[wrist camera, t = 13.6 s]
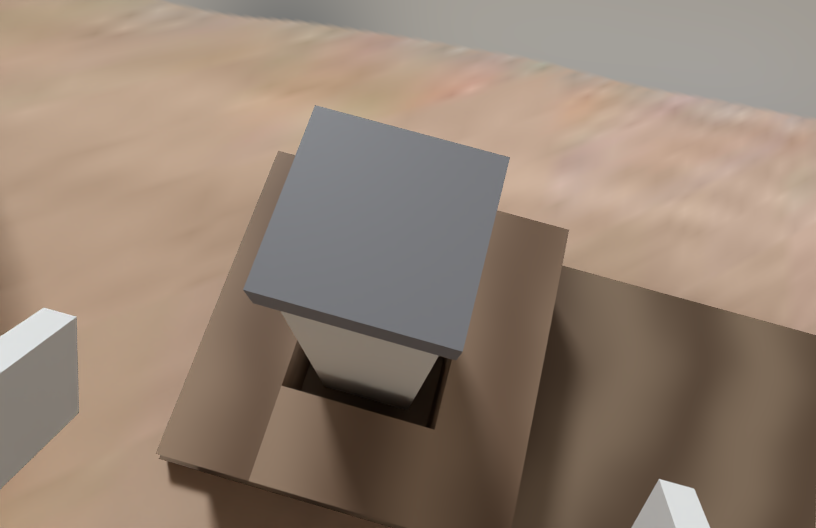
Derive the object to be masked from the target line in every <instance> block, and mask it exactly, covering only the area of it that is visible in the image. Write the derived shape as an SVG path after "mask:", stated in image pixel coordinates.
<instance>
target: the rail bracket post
mask: <svg viewBox="0 0 816 528" xmlns="http://www.w3.org/2000/svg"><path fill="white" fill-rule="evenodd" d="M509 159H510V157H506V156H502V155H499V154H495V153H491V152H488V151H484V150H480V149H476V148H473V147H469V146H465V145H461V144H458V143H454V142H450V141H447V140H443V139H439V138H435V137H432V136H428V135H424V134H420V133H417V132H413V131H409V130H405V129H402V128H398V127H394V126H391V125H387V124H383V123H379V122H376V121H372V120H368V119H364V118H361V117H357V116H353V115H350V114H346V113H342V112H338V111H335V110H331V109H327V108H323V107H320V106H316V105H315V107H314V110H313V112H312V115H311V117H310V120H309V122H308V125H307V127H306V130H305V133H304V135H303V138H302V140H301V143H300V145H299V148H298V150H297V153H296V156H295V158H294V161H293V163H292V166H291V168H290V171H289V173H288V176H287V179H286V181H285V184H284V186H283V189H282V191H281V194H280V196H279V199H278V202H277V204H276V207H275V209H274V212H273V214H272V217H271V219H270V222H269V225H268V227H267V230H266V232H265V235H264V237H263V240H262V242H261V245H260V248H259V250H258V253H257V255H256V258H255V260H254V263H253V265H252V268H251V271H250V273H249V276H248V278H247V281H246V283H245V286H244V288H243V290H244V292H245V293H246V295H247V296H248V297H249V299H250V300H251V301H252V303H254V304H258V305H261V306H265V307H268V308H272V309H275V310H279V311H281V313H282V315H283V316H284V318H285V320H286V322H287V323H288V325H289V327H290V328H291V330H292V332H293V333H294V335H295V337H296V339H297V340H298V342H299V344H300V345H301V347H302V349H303V351H304V352H305V354H306V356H307V357H308V359H309V361H310V363H311V364H312V366H313V368H314V369H315V371H316V373H317V375H318V376H319V378H320V380H321V381H322V383H323V385H324V387H328V388H331V389H335V390H338V391H342V392H345V393H349V394H352V395H356V396H359V397H363V398H366V399H370V400H373V401H377V402H380V403H384V404H387V405H391V406H394V407H398V408H401V409H405V410H408V409H409V407H410V405H411V403H412V402H413V400H414V398H415V396H416V395H417V393H418V391H419V389H420V388H421V386H422V384H423V383H424V381H425V379H426V377H427V376H428V374H429V372H430V370H431V369H432V367H433V365H434V363H435V362H436V360H437V358H438V356H442V357H445V358H449V359H452V360H457V359H458V357H459V356H460V355H461V353H462V352H463V348H464V344H465V340H466V336H467V332H468V328H469V324H470V320H471V315H472V311H473V307H474V303H475V299H476V295H477V291H478V287H479V282H480V278H481V274H482V270H483V266H484V262H485V258H486V254H487V249H488V245H489V241H490V237H491V233H492V229H493V225H494V221H495V216H496V212H497V208H498V204H499V200H500V196H501V192H502V188H503V183H504V179H505V175H506V171H507V167H508V163H509Z"/></svg>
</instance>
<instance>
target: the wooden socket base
mask: <svg viewBox="0 0 816 528" xmlns="http://www.w3.org/2000/svg"><path fill="white" fill-rule="evenodd" d="M294 158H295V155H292V154H288V153H284V152H281V151H278V153H277V156H276V158H275V160H274V163H273V165H272V168H271V170H270V173H269V175H268V178H267V180H266V183H265V185H264V188H263V190H262V193H261V195H260V198H259V200H258V202H257V205H256V207H255V210H254V212H253V215H252V217H251V220H250V222H249V225H248V227H247V230H246V232H245V235H244V237H243V240H242V242H241V244H240V247H239V249H238V252H237V254H236V257H235V259H234V262H233V264H232V267H231V269H230V272H229V274H228V277H227V279H226V282H225V284H224V286H223V289H222V291H221V294H220V296H219V299H218V301H217V304H216V306H215V309H214V311H213V314H212V316H211V319H210V321H209V324H208V326H207V328H206V331H205V333H204V336H203V338H202V341H201V343H200V346H199V348H198V351H197V353H196V356H195V358H194V361H193V363H192V366H191V368H190V370H189V373H188V375H187V378H186V380H185V383H184V385H183V388H182V390H181V393H180V395H179V398H178V400H177V403H176V405H175V407H174V410H173V412H172V415H171V417H170V420H169V422H168V425H167V427H166V430H165V432H164V435H163V437H162V440H161V442H160V445H159V447H158V449H157V452H156V454H158V455H160V458H159V459H162V460H165V461H168V462H172V463H175V464H179V465H182V466H185V467H189V468H192V469H196V470H199V471H202V472H206V473H209V474H212V475H216V476H219V477H223V478H226V479H229V480H233V481H236V482H240V483H243V484H246V485H250V486H253V487H257V488H260V489H263V490H267V491H270V492H273V493H277V494H280V495H284V496H287V497H290V498H294V499H297V500H301V501H304V502H307V503H311V504H314V505H317V506H321V507H324V508H328V509H331V510H334V511H338V512H341V513H345V514H348V515H351V516H355V517H358V518H362V519H365V520H368V521H372V522H375V523H378V524H382V525H385V526H389V527H392V528H631V527H632V526H633V524H634V522H635V520H636V519H637V517H638V515H639V513H640V512H641V510H642V508H643V506H644V505H645V503H646V501H647V499H648V497H649V496H650V494H651V492H652V490H653V489H654V487H655V485H656V483H657V482H658V480H659V479H661V480H665V481H668V482H672V483H676V484H679V485H683V486H686V487H690V488H693V489H695V492H696V494H697V497H698V499H699V502H700V504H701V507H702V509H703V511H704V514H705V516H706V519H707V521H708V524H709V526H710V528H815V522H816V335H813V334H809V333H806V332H802V331H798V330H795V329H791V328H787V327H784V326H780V325H776V324H773V323H769V322H765V321H762V320H758V319H755V318H751V317H747V316H744V315H740V314H736V313H733V312H729V311H725V310H722V309H718V308H714V307H711V306H707V305H704V304H700V303H696V302H693V301H689V300H685V299H682V298H678V297H674V296H671V295H667V294H663V293H660V292H656V291H653V290H649V289H645V288H642V287H638V286H634V285H631V284H627V283H623V282H620V281H616V280H612V279H609V278H605V277H602V276H598V275H594V274H591V273H587V272H583V271H580V270H576V269H572V268H569V267H565V266H562V263H563V258H564V253H565V248H566V243H567V237H568V232H569V230H567V229H564V228H560V227H556V226H552V225H549V224H545V223H541V222H538V221H534V220H530V219H527V218H523V217H519V216H516V215H512V214H508V213H505V212H501V211H497V212H496V216H495V221H494V225H493V229H492V233H491V237H490V241H489V245H488V249H487V254H486V258H485V262H484V266H483V270H482V274H481V278H480V282H479V287H478V291H477V295H476V299H475V303H474V307H473V311H472V315H471V320H470V324H469V328H468V332H467V336H466V340H465V344H464V348H463V352H462V353H461V355H460V356H459V357H458V359H457V360H452V359H449V358H445V357H442V356H438V358H437V360H436V362H435V363H434V365H433V367H432V369H431V370H430V372H429V374H428V376H427V377H426V379H425V381H424V383H423V384H422V386H421V388H420V389H419V391H418V393H417V395H416V396H415V398H414V400H413V402H412V403H411V405H410V407H409V409H408V410H405V409H401V408H398V407H394V406H391V405H387V404H384V403H380V402H377V401H373V400H370V399H366V398H363V397H359V396H356V395H352V394H349V393H345V392H342V391H338V390H335V389H331V388H328V387H324V385H323V383H322V381H321V380H320V378H319V376H318V375H317V373H316V371H315V369H314V368H313V366H312V364H311V363H310V361H309V359H308V357H307V356H306V354H305V352H304V351H303V349H302V347H301V345H300V344H299V342H298V340H297V339H296V337H295V335H294V333H293V332H292V330H291V328H290V327H289V325H288V323H287V322H286V320H285V318H284V316H283V315H282V313H281V311H279V310H275V309H272V308H268V307H265V306H261V305H258V304H254V303H252V301H251V300H250V299H249V297H248V296H247V295H246V293H245V292H244V290H243V288H244V286H245V283H246V281H247V278H248V276H249V273H250V271H251V268H252V265H253V263H254V260H255V258H256V255H257V253H258V250H259V248H260V245H261V242H262V240H263V237H264V235H265V232H266V230H267V227H268V225H269V222H270V219H271V217H272V214H273V212H274V209H275V207H276V204H277V202H278V199H279V196H280V194H281V191H282V189H283V186H284V184H285V181H286V179H287V176H288V173H289V171H290V168H291V166H292V163H293V161H294Z"/></svg>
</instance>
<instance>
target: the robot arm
mask: <svg viewBox="0 0 816 528" xmlns="http://www.w3.org/2000/svg"><path fill="white" fill-rule="evenodd" d="M78 413H79V396H78V356H77V317H76V316H72V315H68V314H65V313H61V312H58V311H54V310H50V309H47V308H42V309H41V310H39V311H38V312H36V313H35V314H33V315H32V316H30V317H29V318H27V319H26V320H24V321H23V322H21V323H20V324H18V325H17V326H15V327H14V328H12V329H11V330H9V331H8V332H6V333H5V334H3V335H2V336H0V489H1V488H2V487H3V486H4V485H5V484H6V483H7V482H8V481H9V480H10V479H11V478H12V477H13V476H15V475H16V474H17V473H18V472H19V471H20V470H21V469H22V468H23V467H24V466H25V465H26V464H27V463H28V462H29V461H30V460H31V459H32V458H33V457H34V456H35V455H36V454H37V453H38V452H39V451H40V450H41V449H42V448H43V447H44V446H45V445H46V444H47V443H48V442H49V441H50V440H51V439H52V438H53V437H55V436H56V435H57V434H58V433H59V432H60V431H61V430H62V429H63V428H64V427H65V426H66V425H67V424H68V423H69V422H70V421H71V420H72V419H73V418H74V417H75V416H76V415H77V414H78ZM631 528H710V526H709V524H708V521H707V519H706V516H705V514H704V511H703V509H702V507H701V504H700V502H699V499H698V497H697V494H696V492H695V489H693V488H690V487H686V486H683V485H679V484H676V483H672V482H668V481H665V480H661V479H659V480H658V482H657V483H656V485H655V487H654V489H653V490H652V492H651V494H650V496H649V497H648V499H647V501H646V503H645V505H644V506H643V508H642V510H641V512H640V513H639V515H638V517H637V519H636V520H635V522H634V524H633V526H632V527H631Z"/></svg>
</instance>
